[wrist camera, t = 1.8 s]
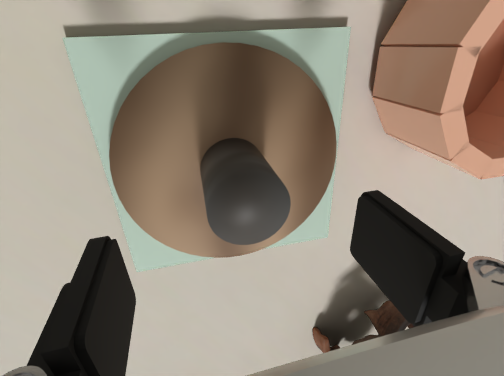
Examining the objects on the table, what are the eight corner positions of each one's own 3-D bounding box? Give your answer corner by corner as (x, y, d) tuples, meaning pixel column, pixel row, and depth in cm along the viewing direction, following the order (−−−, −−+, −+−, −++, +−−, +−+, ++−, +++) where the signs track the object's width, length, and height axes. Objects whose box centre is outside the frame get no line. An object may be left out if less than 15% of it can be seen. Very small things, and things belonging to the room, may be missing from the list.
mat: (346, 27, 16) (350, 26, 16) (325, 233, 23) (327, 237, 23) (66, 37, 14) (62, 37, 13) (137, 267, 21) (136, 272, 20)
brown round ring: (297, 310, 28) (372, 354, 21) (352, 260, 33) (428, 283, 26) (325, 396, 31) (399, 459, 24) (372, 339, 36) (445, 378, 29)
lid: (341, 36, 16) (415, 32, 11) (322, 233, 22) (363, 287, 17) (77, 49, 13) (15, 51, 8) (142, 265, 20) (129, 340, 15)
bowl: (544, -37, 17) (703, -72, 12) (482, 136, 22) (574, 164, 17) (386, -38, 15) (493, -81, 10) (358, 152, 20) (419, 189, 15)
